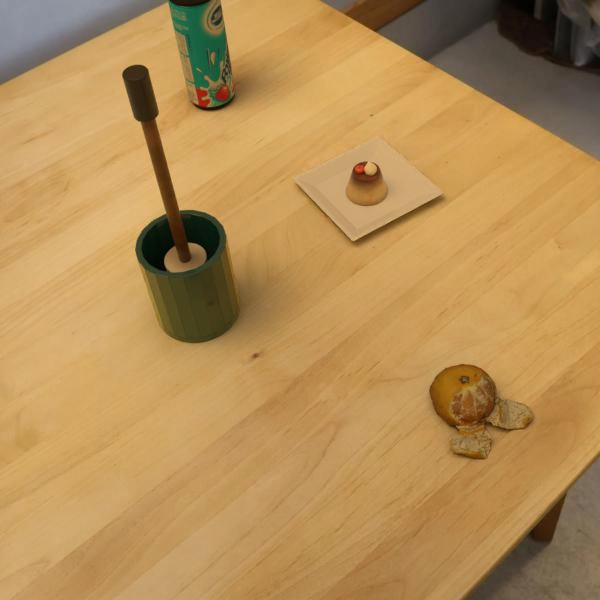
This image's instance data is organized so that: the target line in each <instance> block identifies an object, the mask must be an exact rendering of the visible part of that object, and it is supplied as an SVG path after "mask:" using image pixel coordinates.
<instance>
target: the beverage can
mask: <svg viewBox="0 0 600 600" xmlns="http://www.w3.org/2000/svg"><path fill="white" fill-rule="evenodd" d="M167 2H168V7H169V12H170V17H171V22H172V27H173V31H174V35H175V41H176V46H177V49H178V50H177V51H178V54H179V58H180V62H181V68H182V72H183V76H184V81H185V87H186V90H187V96H188V98H189V100H190V102H191V103H192V105H194V107H196V108H198V109H202V110H217V109H220V108H223V107H226V106H227V105H229V104H230V102H231V101H232V100H233V99H234V96H235V92H236V85H235V81H234V74H233V68H232V62H231V61H232V60H231V56H230V55H231V54H230V49H229V42H228V38H227V37H228V36H227V30H226V24H225V19H224V13H223V6H222V1H221V0H167Z"/></svg>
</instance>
